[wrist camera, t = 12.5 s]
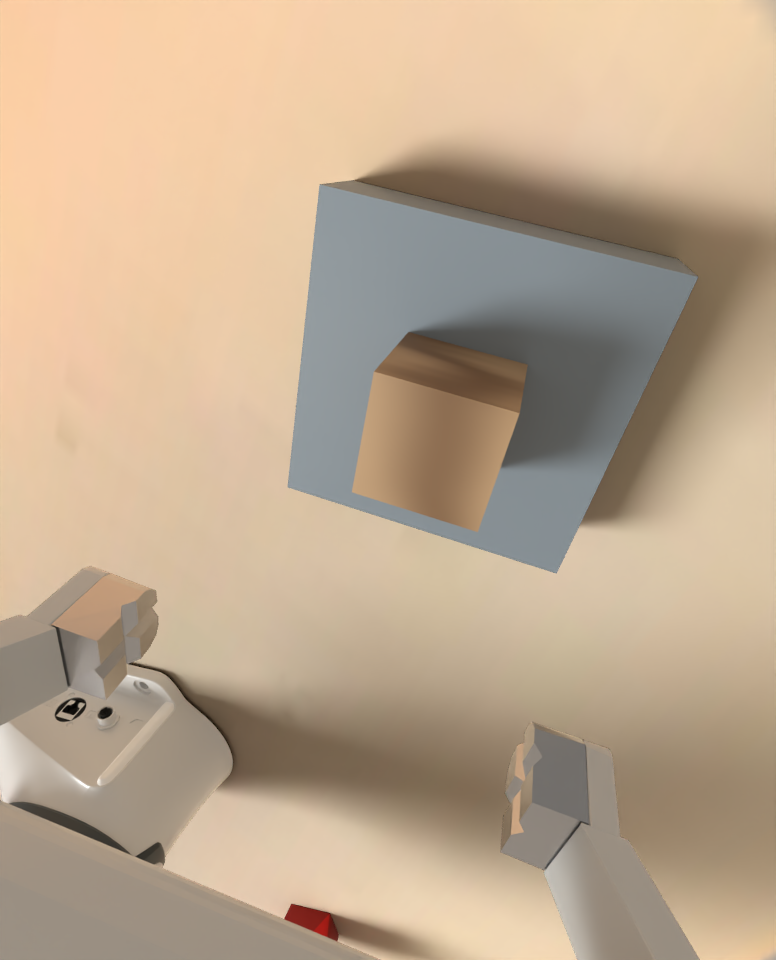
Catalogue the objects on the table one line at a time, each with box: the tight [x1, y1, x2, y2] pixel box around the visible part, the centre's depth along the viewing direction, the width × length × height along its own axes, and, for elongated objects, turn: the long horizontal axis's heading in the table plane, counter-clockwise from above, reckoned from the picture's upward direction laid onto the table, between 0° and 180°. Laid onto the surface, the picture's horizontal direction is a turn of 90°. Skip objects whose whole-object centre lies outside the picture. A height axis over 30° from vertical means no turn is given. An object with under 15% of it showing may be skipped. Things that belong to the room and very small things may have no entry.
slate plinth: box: [288, 180, 698, 573], centre depth 25 cm, size 14×14×4 cm
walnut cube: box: [352, 332, 528, 532], centre depth 22 cm, size 5×5×5 cm
